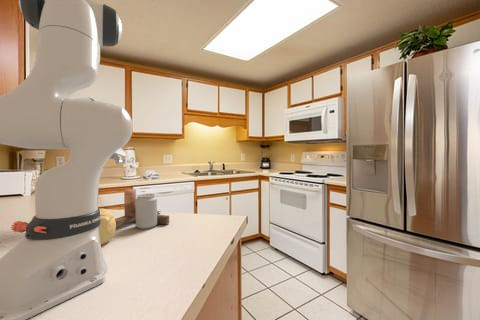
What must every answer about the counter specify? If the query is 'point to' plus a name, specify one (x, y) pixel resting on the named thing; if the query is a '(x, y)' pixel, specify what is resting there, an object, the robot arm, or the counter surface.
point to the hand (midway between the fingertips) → (110, 160)
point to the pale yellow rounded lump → (106, 226)
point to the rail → (129, 223)
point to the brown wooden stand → (134, 210)
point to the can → (146, 211)
